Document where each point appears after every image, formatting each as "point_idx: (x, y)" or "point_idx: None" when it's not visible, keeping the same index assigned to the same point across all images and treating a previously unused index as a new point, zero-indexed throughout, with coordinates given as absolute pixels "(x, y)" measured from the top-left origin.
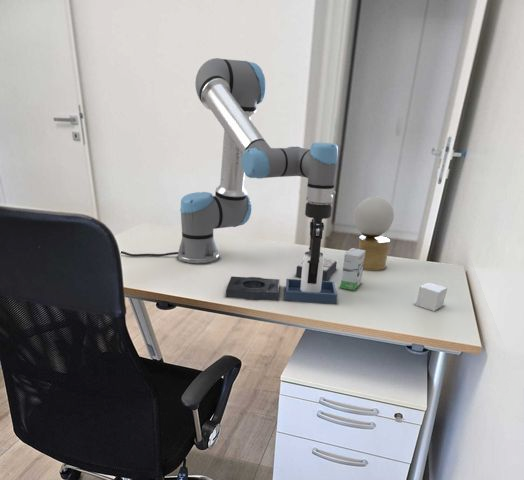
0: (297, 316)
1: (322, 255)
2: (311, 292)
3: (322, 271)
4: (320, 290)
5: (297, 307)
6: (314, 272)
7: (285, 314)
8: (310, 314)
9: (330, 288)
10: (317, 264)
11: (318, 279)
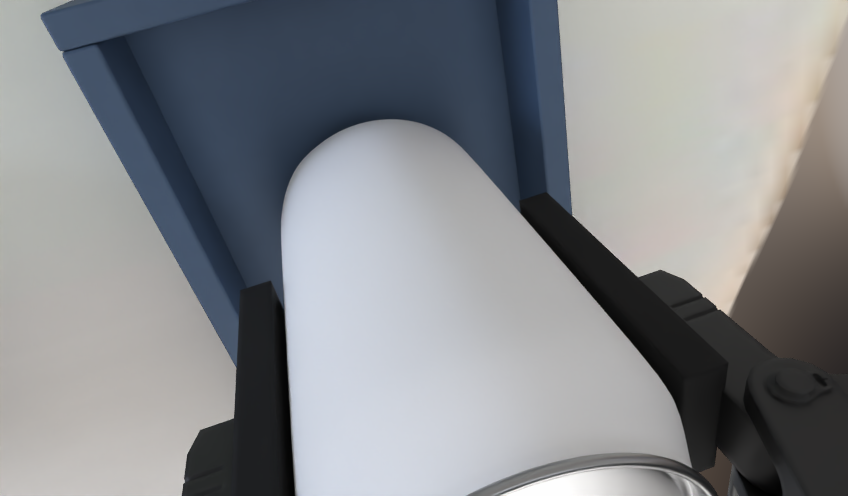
0: (785, 157)
1: (624, 461)
2: (553, 183)
3: (469, 225)
4: (398, 122)
5: (643, 204)
6: (685, 294)
7: (757, 233)
8: (753, 81)
9: (122, 37)
10: (711, 355)
11: (507, 202)
